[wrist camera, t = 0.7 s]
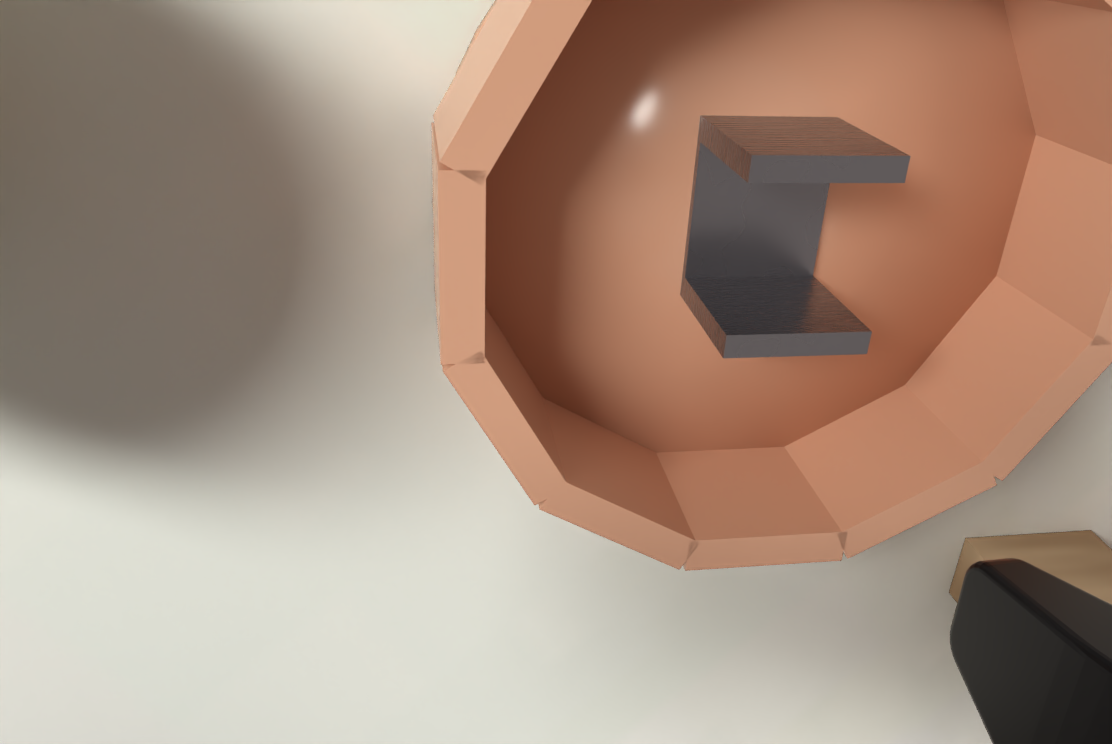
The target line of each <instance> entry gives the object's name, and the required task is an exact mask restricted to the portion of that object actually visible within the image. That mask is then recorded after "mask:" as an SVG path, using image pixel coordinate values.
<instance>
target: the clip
mask: <svg viewBox="0 0 1112 744" xmlns="http://www.w3.org/2000/svg"><path fill="white" fill-rule="evenodd" d="M910 157H911V156H910V155H908V154H906V153H904V152H902V151H900V150H899V149H897V148H895V147H893V146H891V145H889V144H887V143H885V142H884V141H882V140H880V139H878V138H876V137H874V136H872V135H870V134H868V133H867V132H865V131H863V130H861V129H859V128H857V127H855V126H853V125H852V124H850V123H848V122H846V121H844V120H842V119H840V118H838V117H793V116H706V115H700V123H699V131H698V140H697V149H696V158H695V167H694V176H693V185H692V194H691V202H690V211H689V220H688V229H687V238H686V247H685V256H684V265H683V273H682V282H681V291H680V296H681V297H682V299H683V300H684V301H685V303H686V304H687V306H688V307H689V309H690V310H691V312H692V313H693V315H694V316H695V318H696V319H697V321H698V322H699V323H700V325H701V326H702V328H703V329H704V331H705V332H706V334H707V335H708V337H709V338H710V340H711V341H712V343H713V344H714V346H715V347H716V348H717V350H718V351H719V353H720V354H721V356H722V357H723V358H755V357H789V356H823V355H857V354H867V352H868V347H869V343H870V338H871V334H872V331H871V330H870V329H869V328H868V327H867V326H866V325H864V324H863V323H862V322H861V321H860V320H859V319H858V318H857V317H856V316H855V315H854V314H853V313H852V312H851V311H850V310H849V309H848V308H847V307H846V306H844V305H843V304H842V303H841V302H840V301H839V300H838V299H837V298H836V297H835V296H834V295H833V294H832V293H831V292H830V291H829V290H828V289H827V288H825V287H824V286H823V285H822V284H821V283H820V282H819V281H818V280H817V279H816V278H815V277H814V276H813V272H814V267H815V262H816V256H817V251H818V245H819V240H820V234H821V229H822V223H823V218H824V212H825V207H826V201H827V196H828V190H829V185H830V183H905V179H906V175H907V170H908V166H909V161H910Z"/></svg>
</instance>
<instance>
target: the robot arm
mask: <svg viewBox="0 0 1112 744" xmlns="http://www.w3.org/2000/svg"><path fill="white" fill-rule="evenodd" d="M950 644H951V650H952V654H953V657H954V660H955V662H956V664H957V667H958V669H959V671H960V673H961V675H962V677H963V680H964V682H965V684H966V686H967V688H968V691H969V693H970V695H971V697H972V699H973V701H974V704H975V706H976V708H977V710H978V712H979V715H980V717H981V719H982V721H983V723H984V725H985V728H986V730H987V732H988V734H989V736H990V739H991V741H992V743H993V744H1112V604H1110V603H1108V602H1106V601H1104V600H1102V599H1100V598H1098V597H1096V596H1094V595H1092V594H1090V593H1088V592H1086V591H1084V590H1082V589H1080V588H1078V587H1076V586H1074V585H1072V584H1070V583H1068V582H1066V581H1064V580H1062V579H1060V578H1058V577H1056V576H1054V575H1052V574H1050V573H1048V572H1046V571H1044V570H1042V569H1040V568H1038V567H1036V566H1034V565H1032V564H1030V563H1028V562H1026V561H1023V560H1021V559H1016V558H1005V559H995V560H985V561H978V562H976V563H973V564H972V565H971V566H970V567H969V568H968V569H967V571H966V573H965V576H964V580H963V583H962V587H961V591H960V595H959V599H958V602H957V606H956V610H955V614H954V618H953V621H952V625H951V630H950Z"/></svg>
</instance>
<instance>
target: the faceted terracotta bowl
mask: <svg viewBox="0 0 1112 744" xmlns="http://www.w3.org/2000/svg"><path fill="white" fill-rule="evenodd" d="M700 115H706V116H793V117H838V118H840V119H842V120H844V121H846V122H848V123H850V124H852V125H853V126H855V127H857V128H859V129H861V130H863V131H865V132H867V133H868V134H870V135H872V136H874V137H876V138H878V139H880V140H882V141H884V142H885V143H887V144H889V145H891V146H893V147H895V148H897V149H899V150H900V151H902V152H904V153H906V154H908V155H910V156H911V157H910V161H909V166H908V170H907V175H906V179H905V183H830V185H829V190H828V196H827V201H826V207H825V212H824V218H823V223H822V229H821V234H820V240H819V245H818V251H817V256H816V262H815V267H814V272H813V276H814V277H815V278H816V279H817V280H818V281H819V282H820V283H821V284H822V285H823V286H824V287H825V288H827V289H828V290H829V291H830V292H831V293H832V294H833V295H834V296H835V297H836V298H837V299H838V300H839V301H840V302H841V303H842V304H843V305H844V306H846V307H847V308H848V309H849V310H850V311H851V312H852V313H853V314H854V315H855V316H856V317H857V318H858V319H859V320H860V321H861V322H862V323H863V324H864V325H866V326H867V327H868V328H869V329H870V330H871V331H872V334H871V338H870V343H869V347H868V352H867V354H857V355H823V356H789V357H755V358H723V357H722V356H721V354H720V353H719V351H718V350H717V348H716V347H715V346H714V344H713V343H712V341H711V340H710V338H709V337H708V335H707V334H706V332H705V331H704V329H703V328H702V326H701V325H700V323H699V322H698V321H697V319H696V318H695V316H694V315H693V313H692V312H691V310H690V309H689V307H688V306H687V304H686V303H685V301H684V300H683V299H682V297H681V296H680V291H681V282H682V273H683V265H684V256H685V247H686V238H687V229H688V220H689V211H690V202H691V194H692V185H693V176H694V167H695V158H696V149H697V140H698V131H699V123H700ZM433 118H434V123H431V127H432V179H433V197H432V205H433V231H434V282H435V301H436V313H437V325H438V337H439V349H440V361H441V364H442V366H443V372H444V374H445V375H446V376H447V378H448V379H449V381H450V382H451V384H452V385H453V387H454V388H455V390H456V391H457V393H458V394H459V395H460V397H461V398H462V400H463V401H464V403H465V404H466V406H467V407H468V409H469V410H470V412H471V413H472V414H473V416H474V417H475V419H476V420H477V422H478V423H479V425H480V426H481V428H482V429H483V431H484V432H485V433H486V435H487V436H488V438H489V439H490V441H491V442H492V444H493V445H494V447H495V448H496V450H497V451H498V452H499V454H500V455H501V457H502V458H503V460H504V461H505V463H506V464H507V466H508V467H509V469H510V470H511V471H512V473H513V474H514V476H515V477H516V479H517V480H518V482H519V483H520V485H521V486H522V488H523V489H524V490H525V492H526V493H527V495H528V496H529V498H530V499H531V501H532V502H533V504H534V505H536V504H539V509H540V510H542V511H545V512H547V513H549V514H552V515H554V516H556V517H559V518H561V519H563V520H566V521H568V522H570V523H572V524H575V525H577V526H579V527H582V528H584V529H586V530H589V531H591V532H593V533H596V534H598V535H600V536H603V537H605V538H607V539H609V540H612V541H614V542H616V543H619V544H621V545H623V546H626V547H628V548H630V549H633V550H635V551H637V552H640V553H642V554H644V555H646V556H649V557H651V558H653V559H656V560H658V561H660V562H663V563H665V564H667V565H670V566H672V567H674V568H677V569H680V568H681V567H682V566H684V569H685V571H687V570H702V569H718V568H733V567H749V566H764V565H779V564H795V563H810V562H826V561H841V560H842V556H843V553H844V554H845V556H846V557H847V559H848V558H850V557H852V556H854V555H856V554H858V553H860V552H862V551H864V550H866V549H868V548H870V547H872V546H874V545H876V544H879V543H881V542H883V541H885V540H887V539H889V538H891V537H893V536H895V535H897V534H899V533H901V532H903V531H905V530H907V529H909V528H911V527H913V526H915V525H917V524H919V523H921V522H923V521H925V520H927V519H929V518H931V517H933V516H935V515H937V514H939V513H941V512H943V511H945V510H947V509H949V508H951V507H953V506H955V505H957V504H959V503H961V502H963V501H965V500H967V499H969V498H972V497H974V496H976V495H978V494H980V493H982V492H984V491H986V490H988V489H990V488H992V487H994V486H996V485H997V484H996V481H995V478H994V476H995V477H997V478H998V479H1000V480H1002V481H1003V480H1004V479H1005V477H1006V476H1007V475H1008V474H1009V473H1010V472H1011V471H1012V470H1013V469H1014V468H1015V467H1016V466H1017V464H1018V463H1019V462H1020V461H1021V460H1022V459H1023V458H1024V457H1025V456H1026V455H1027V454H1028V453H1029V451H1030V450H1031V449H1032V448H1033V447H1034V446H1035V445H1036V444H1037V443H1038V442H1039V441H1040V439H1041V438H1042V437H1043V436H1044V435H1045V434H1046V433H1047V432H1048V431H1049V430H1050V429H1051V428H1052V426H1053V425H1054V424H1055V423H1056V422H1057V421H1058V420H1059V419H1060V418H1061V417H1062V416H1063V415H1064V413H1065V412H1066V411H1067V410H1068V409H1069V408H1070V407H1071V406H1072V405H1073V404H1074V403H1075V402H1076V400H1077V399H1078V398H1079V397H1080V396H1081V395H1082V394H1083V393H1084V392H1085V391H1086V390H1087V389H1088V387H1089V386H1090V385H1091V384H1092V383H1093V382H1094V381H1095V380H1096V379H1097V378H1098V377H1099V376H1100V374H1101V373H1102V372H1103V371H1104V370H1105V369H1106V368H1107V367H1108V366H1109V365H1110V364H1111V363H1112V0H495V2H494V3H493V5H492V6H491V8H490V9H489V11H488V12H487V14H486V16H485V17H484V19H483V20H482V22H481V23H480V25H479V26H478V28H477V30H476V32H475V34H474V36H473V38H472V40H471V42H470V44H469V47H468V49H467V51H466V53H465V55H464V57H463V59H462V61H461V63H460V65H459V68H458V70H457V72H456V75H455V77H454V79H453V81H452V83H451V84H450V86H449V88H448V90H447V92H446V93H445V95H444V97H443V99H442V101H441V102H440V104H439V106H438V108H437V109H436V111H435V113H434V115H433Z"/></svg>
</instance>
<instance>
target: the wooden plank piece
mask: <svg viewBox="0 0 1112 744" xmlns="http://www.w3.org/2000/svg"><path fill="white" fill-rule="evenodd" d="M1005 558H1016V559H1021V560H1023V561H1026V562H1028V563H1030V564H1032V565H1034V566H1036V567H1038V568H1040V569H1042V570H1044V571H1046V572H1048V573H1050V574H1052V575H1054V576H1056V577H1058V578H1060V579H1062V580H1064V581H1066V582H1068V583H1070V584H1072V585H1074V586H1076V587H1078V588H1080V589H1082V590H1084V591H1086V592H1088V593H1090V594H1092V595H1094V596H1096V597H1098V598H1100V599H1102V600H1104V601H1106V602H1108V603H1110V604H1112V549H1110V548H1109V547H1108V546H1107V545H1106V544H1105V543H1104V542H1103V541H1102V540H1101V539H1100V538H1099V537H1098V536H1097V535H1095V534H1094V533H1093V532H1092V531H1091V530H1088V531H1072V532H1056V533H1040V534H1023V535H1007V536H991V537H975V538H965V541H964V544H963V548H962V551H961V554H960V558H959V561H958V564H957V567H956V571H955V574H954V577H953V580H952V584H951V587H950V590H949V593H950V594H951V596H952V597H953V598H954V599H955V601H956V602H958V599H959V595H960V591H961V587H962V583H963V580H964V576H965V573H966V571H967V569H968V568H969V567H970V566H971V565H972V564H973V563H976V562H978V561H985V560H995V559H1005Z"/></svg>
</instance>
